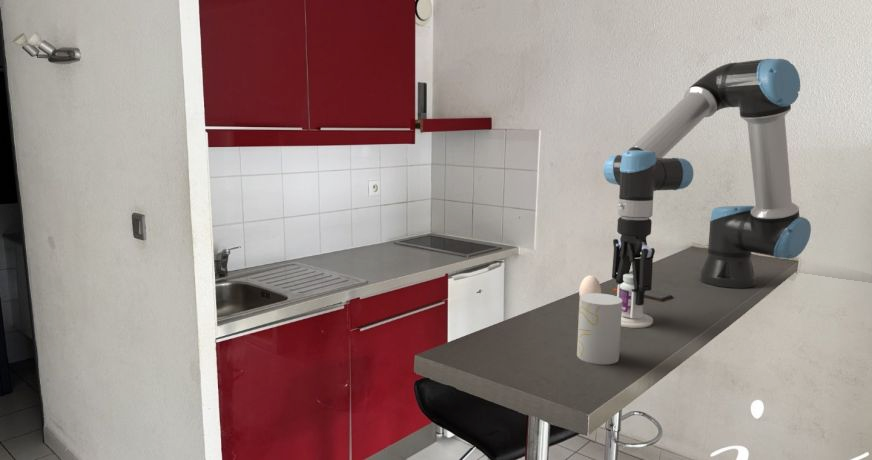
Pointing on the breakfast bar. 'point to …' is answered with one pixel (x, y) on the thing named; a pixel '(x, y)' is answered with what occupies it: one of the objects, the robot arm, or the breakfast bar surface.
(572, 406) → the breakfast bar surface
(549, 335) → the breakfast bar surface
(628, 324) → the saucer
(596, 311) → the white upright cylinder
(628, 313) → the pill bottle
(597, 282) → the egg
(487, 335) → the breakfast bar surface
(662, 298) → the phone
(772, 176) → the robot arm
